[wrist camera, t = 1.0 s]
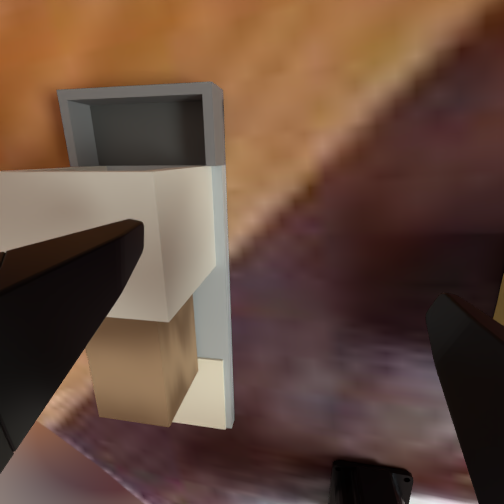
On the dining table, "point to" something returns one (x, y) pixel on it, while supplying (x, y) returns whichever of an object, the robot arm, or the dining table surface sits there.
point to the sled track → (146, 212)
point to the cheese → (500, 305)
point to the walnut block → (143, 366)
